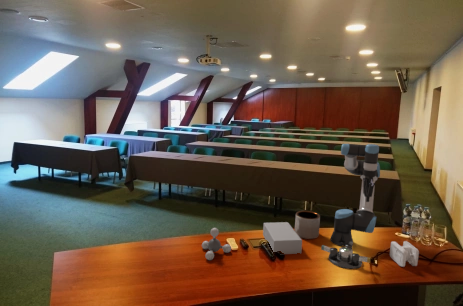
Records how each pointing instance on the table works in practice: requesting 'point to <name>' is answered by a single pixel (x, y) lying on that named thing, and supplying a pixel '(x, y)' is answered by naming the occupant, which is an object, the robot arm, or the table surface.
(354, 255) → the screw
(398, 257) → the cable organizer
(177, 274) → the table surface
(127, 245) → the table surface
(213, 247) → the molecule model
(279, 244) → the box
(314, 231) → the planter
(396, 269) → the table surface
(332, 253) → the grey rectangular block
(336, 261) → the tribrach base
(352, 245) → the screw
